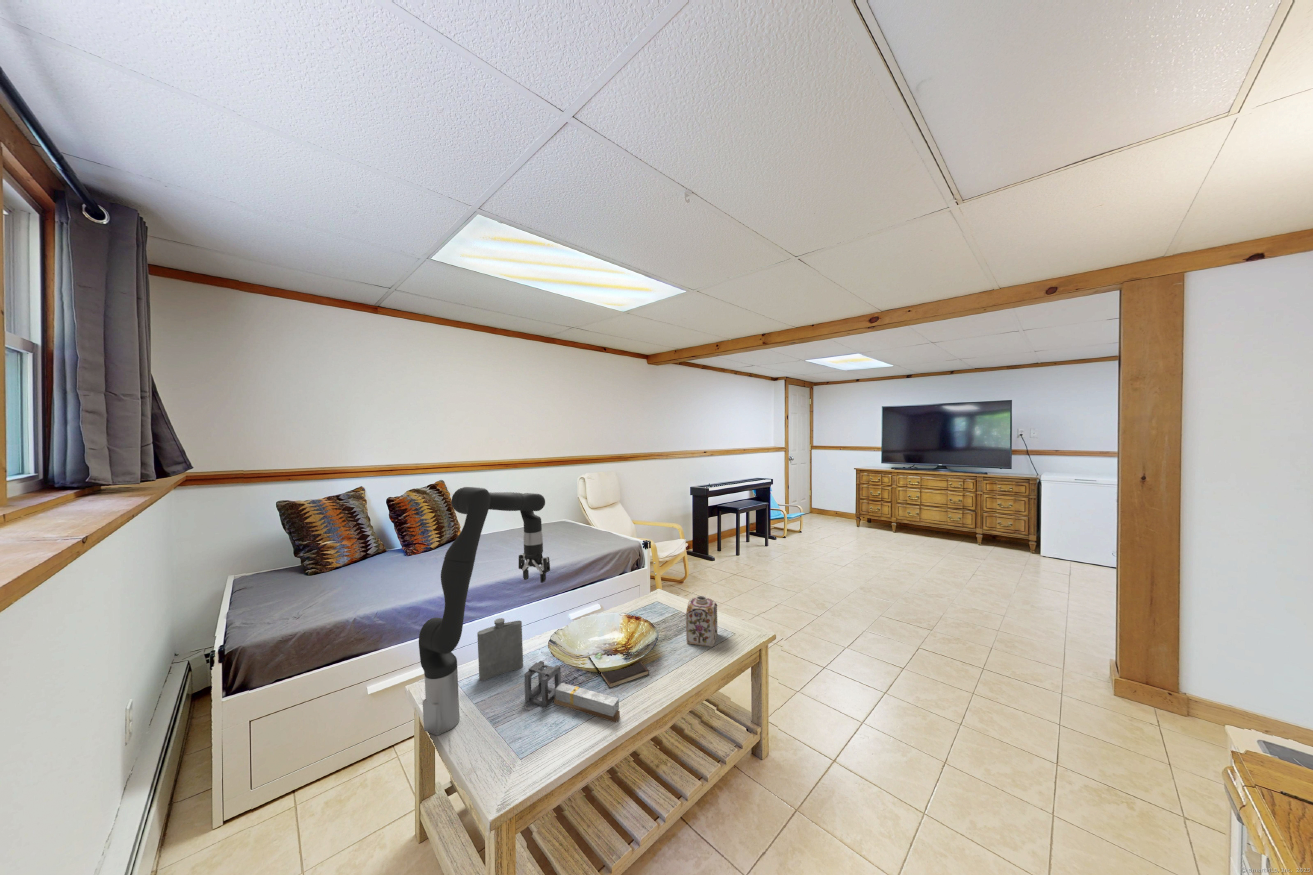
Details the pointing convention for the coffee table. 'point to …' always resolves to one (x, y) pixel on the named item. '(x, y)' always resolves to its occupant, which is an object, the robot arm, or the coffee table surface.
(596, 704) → the square steel tube
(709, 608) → the decorative jar
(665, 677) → the coffee table surface
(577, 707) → the walnut rail
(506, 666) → the hip flask
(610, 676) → the hardcover book
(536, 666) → the frame
